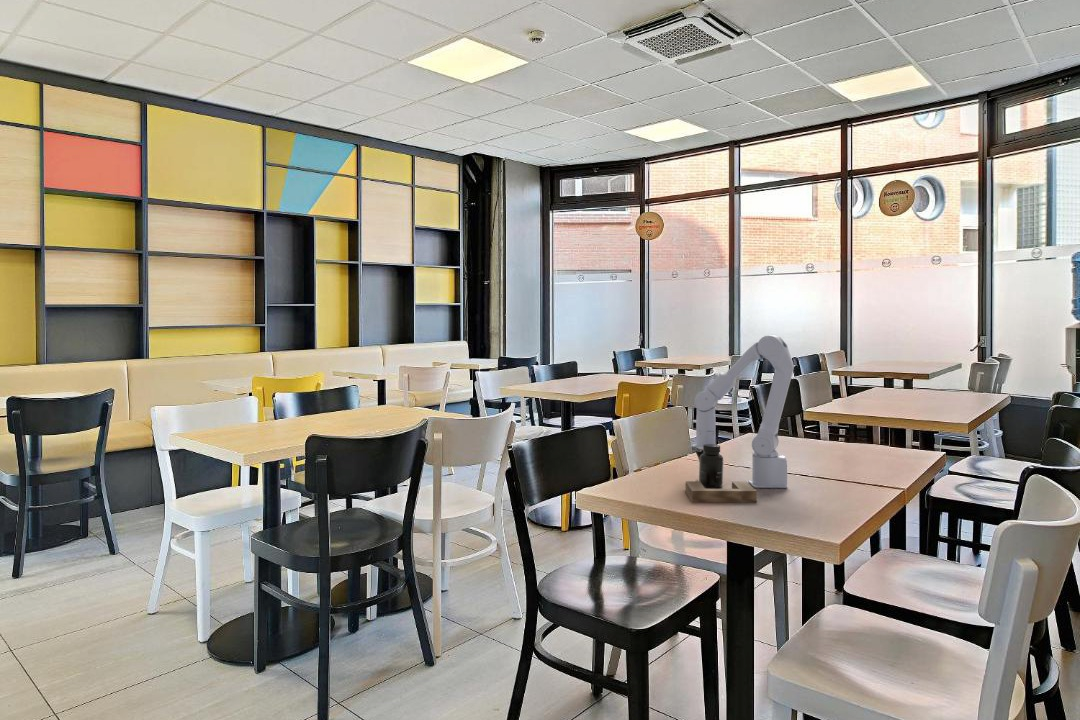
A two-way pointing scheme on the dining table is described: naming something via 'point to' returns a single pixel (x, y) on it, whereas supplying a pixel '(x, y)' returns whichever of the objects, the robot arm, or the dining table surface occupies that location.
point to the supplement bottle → (711, 466)
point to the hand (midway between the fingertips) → (705, 474)
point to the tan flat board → (721, 493)
